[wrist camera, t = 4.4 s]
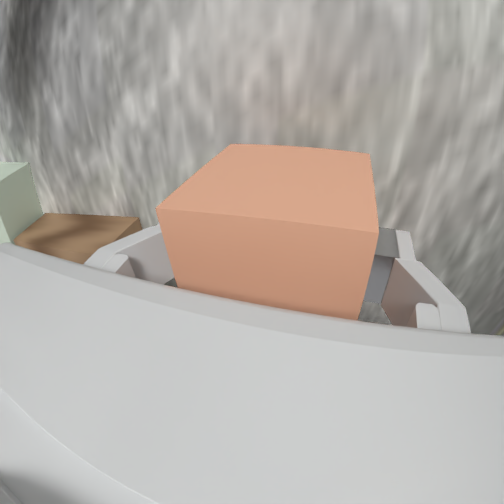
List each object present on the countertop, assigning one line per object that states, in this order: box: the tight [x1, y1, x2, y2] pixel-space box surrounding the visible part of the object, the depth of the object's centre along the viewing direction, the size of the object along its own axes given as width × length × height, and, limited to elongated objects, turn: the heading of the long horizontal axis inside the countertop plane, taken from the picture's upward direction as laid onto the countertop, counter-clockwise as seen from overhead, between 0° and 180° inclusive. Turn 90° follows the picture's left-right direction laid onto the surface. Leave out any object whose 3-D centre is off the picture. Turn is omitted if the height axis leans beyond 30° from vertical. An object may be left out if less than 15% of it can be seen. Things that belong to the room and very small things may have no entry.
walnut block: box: [13, 213, 142, 264], centre depth 19 cm, size 10×10×4 cm
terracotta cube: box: [155, 144, 379, 320], centre depth 9 cm, size 5×5×5 cm
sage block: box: [0, 162, 43, 244], centre depth 17 cm, size 7×7×4 cm
